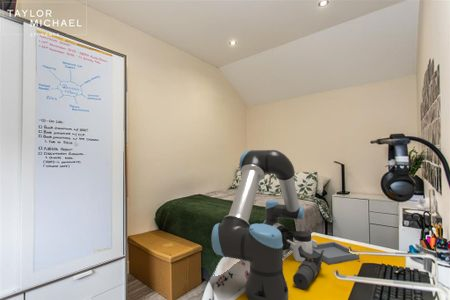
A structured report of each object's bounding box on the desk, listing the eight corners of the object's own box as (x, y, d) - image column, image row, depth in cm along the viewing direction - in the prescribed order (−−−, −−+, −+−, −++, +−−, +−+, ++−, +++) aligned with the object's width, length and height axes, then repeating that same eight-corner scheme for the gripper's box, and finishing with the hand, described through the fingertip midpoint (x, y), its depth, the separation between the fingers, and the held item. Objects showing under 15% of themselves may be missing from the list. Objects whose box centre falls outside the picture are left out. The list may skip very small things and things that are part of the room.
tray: (328, 264, 106) (328, 258, 106) (305, 251, 121) (305, 245, 121) (359, 259, 111) (359, 252, 111) (334, 247, 126) (334, 241, 126)
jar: (291, 255, 117) (291, 230, 117) (308, 255, 116) (307, 230, 117) (296, 263, 108) (296, 236, 108) (314, 263, 107) (314, 236, 108)
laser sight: (287, 285, 89) (287, 259, 89) (304, 263, 108) (304, 241, 108) (314, 294, 84) (313, 265, 84) (327, 269, 102) (326, 245, 102)
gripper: (298, 236, 134) (326, 250, 113) (262, 241, 127) (284, 257, 106) (298, 223, 134) (326, 235, 113) (261, 227, 127) (284, 240, 106)
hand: (305, 245), depth 110 cm, fingers open, 11 cm apart
